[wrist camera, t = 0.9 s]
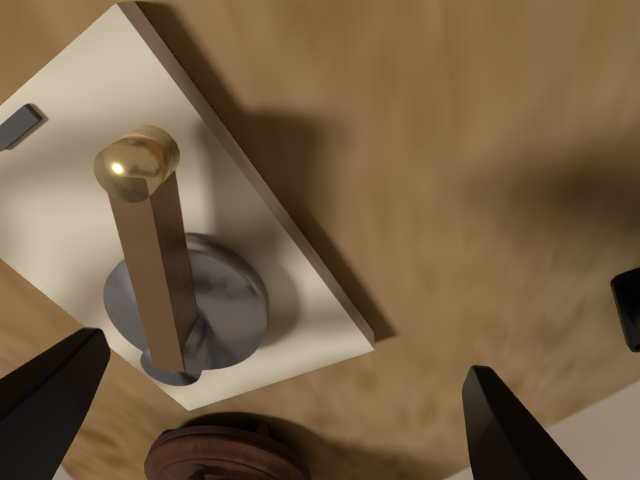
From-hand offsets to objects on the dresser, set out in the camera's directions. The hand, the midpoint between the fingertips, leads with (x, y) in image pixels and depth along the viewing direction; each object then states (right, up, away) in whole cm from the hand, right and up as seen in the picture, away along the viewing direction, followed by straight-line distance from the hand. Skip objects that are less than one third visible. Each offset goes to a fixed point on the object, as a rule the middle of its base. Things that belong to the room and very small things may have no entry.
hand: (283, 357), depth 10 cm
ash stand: (-8, +2, +14) cm, 17 cm away
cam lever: (-6, +2, +12) cm, 14 cm away
